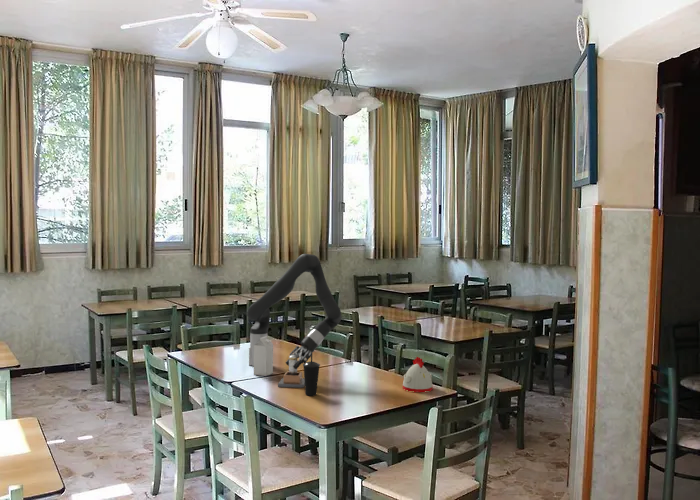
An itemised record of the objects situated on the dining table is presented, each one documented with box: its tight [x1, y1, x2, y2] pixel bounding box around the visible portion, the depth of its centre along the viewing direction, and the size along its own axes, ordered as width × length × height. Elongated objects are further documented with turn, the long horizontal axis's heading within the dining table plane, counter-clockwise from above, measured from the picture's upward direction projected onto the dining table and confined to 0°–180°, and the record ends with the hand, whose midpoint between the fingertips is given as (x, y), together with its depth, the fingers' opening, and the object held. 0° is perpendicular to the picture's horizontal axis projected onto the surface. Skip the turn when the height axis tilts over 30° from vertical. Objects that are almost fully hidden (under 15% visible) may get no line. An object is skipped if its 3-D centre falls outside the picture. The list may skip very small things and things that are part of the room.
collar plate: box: [277, 371, 305, 389], centre depth 298 cm, size 12×12×5 cm
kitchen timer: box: [402, 356, 433, 393], centre depth 294 cm, size 14×14×15 cm
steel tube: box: [288, 355, 299, 376], centre depth 298 cm, size 4×4×12 cm
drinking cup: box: [302, 350, 321, 397], centre depth 280 cm, size 8×8×20 cm
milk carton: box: [253, 335, 274, 377], centre depth 317 cm, size 7×7×19 cm
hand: (290, 366), depth 297 cm, fingers open, 8 cm apart
